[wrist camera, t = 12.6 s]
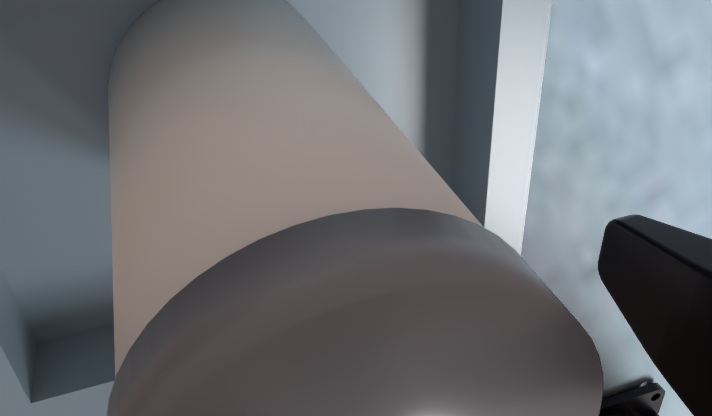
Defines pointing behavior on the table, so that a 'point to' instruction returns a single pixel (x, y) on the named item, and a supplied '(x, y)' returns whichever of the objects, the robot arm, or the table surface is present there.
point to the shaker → (305, 243)
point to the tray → (92, 154)
